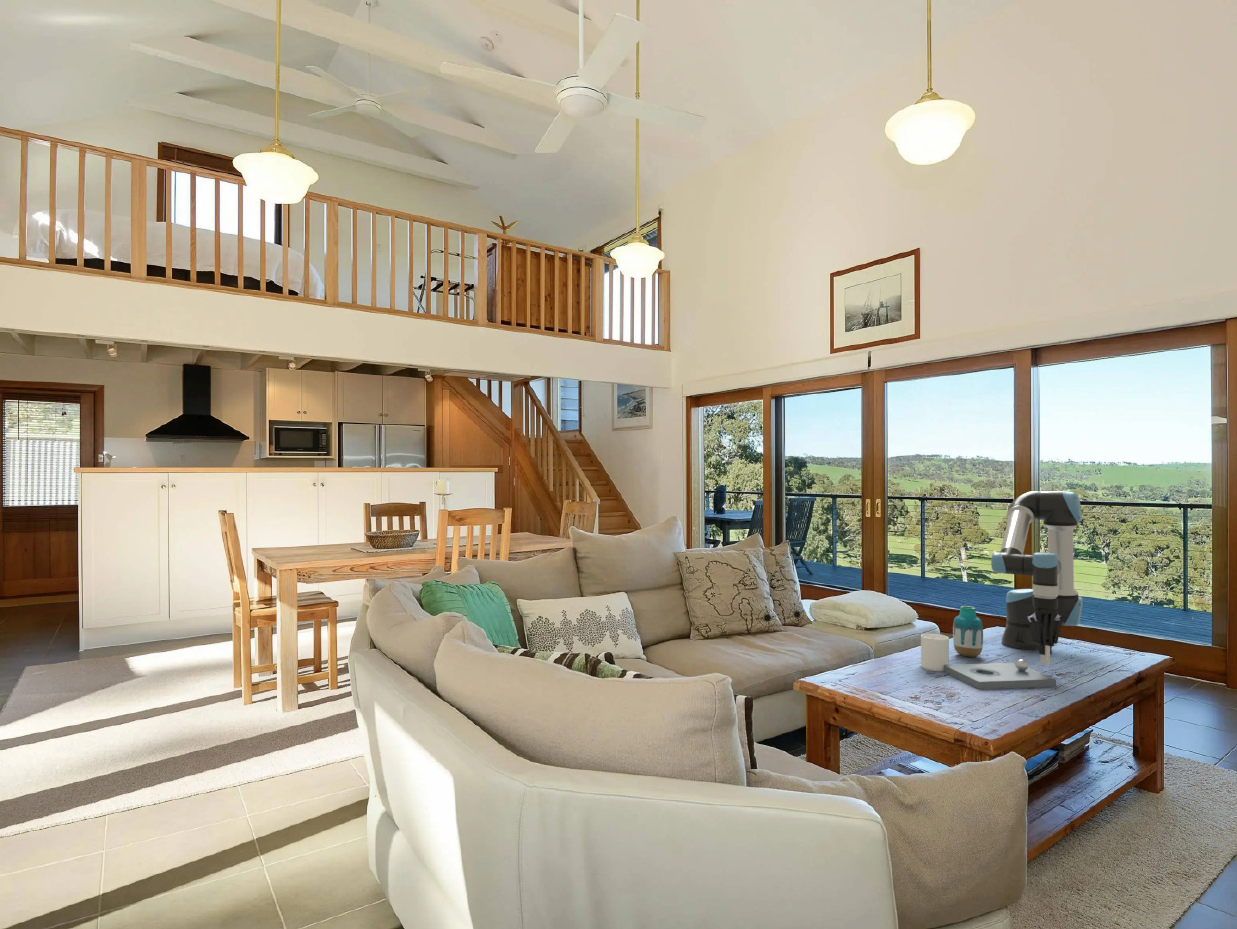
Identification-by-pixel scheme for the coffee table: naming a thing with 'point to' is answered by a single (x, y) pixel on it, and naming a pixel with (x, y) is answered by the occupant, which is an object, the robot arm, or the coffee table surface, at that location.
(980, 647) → the vase
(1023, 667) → the ball
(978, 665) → the grey plate with hole
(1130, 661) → the coffee table surface
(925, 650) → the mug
